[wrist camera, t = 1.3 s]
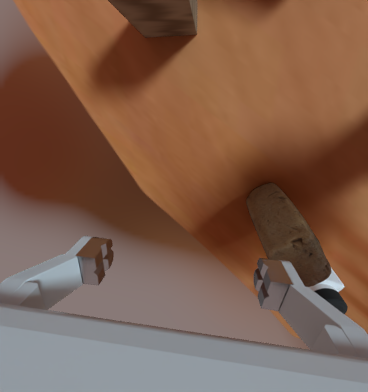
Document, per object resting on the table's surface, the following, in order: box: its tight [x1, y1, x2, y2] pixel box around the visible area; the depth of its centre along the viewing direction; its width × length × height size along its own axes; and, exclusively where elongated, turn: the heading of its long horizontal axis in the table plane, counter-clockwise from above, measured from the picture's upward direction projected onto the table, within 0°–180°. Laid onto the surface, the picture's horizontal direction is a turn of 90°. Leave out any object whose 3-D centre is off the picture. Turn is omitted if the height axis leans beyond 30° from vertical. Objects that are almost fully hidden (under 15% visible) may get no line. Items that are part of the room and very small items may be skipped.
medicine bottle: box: [309, 268, 347, 314], centre depth 44 cm, size 7×7×12 cm
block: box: [246, 183, 331, 287], centre depth 34 cm, size 11×8×20 cm
